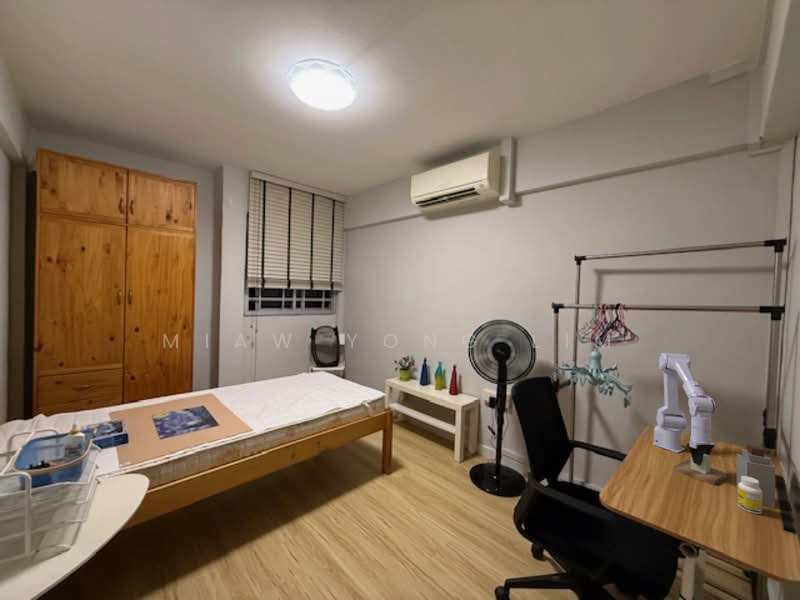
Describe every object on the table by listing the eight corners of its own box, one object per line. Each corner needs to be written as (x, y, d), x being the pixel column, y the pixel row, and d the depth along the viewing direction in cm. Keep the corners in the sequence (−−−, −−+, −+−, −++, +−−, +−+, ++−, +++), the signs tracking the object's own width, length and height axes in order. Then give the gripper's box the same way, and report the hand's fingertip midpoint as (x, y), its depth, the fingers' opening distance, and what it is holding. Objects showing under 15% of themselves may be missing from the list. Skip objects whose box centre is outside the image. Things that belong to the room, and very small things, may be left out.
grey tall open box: (736, 491, 115) (737, 441, 115) (762, 497, 112) (763, 445, 112) (746, 502, 108) (747, 449, 108) (774, 508, 105) (775, 453, 106)
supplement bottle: (736, 501, 109) (736, 472, 109) (760, 508, 105) (760, 478, 105) (739, 509, 104) (739, 479, 104) (764, 517, 101) (764, 486, 101)
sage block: (690, 468, 127) (690, 453, 127) (695, 465, 129) (695, 450, 129) (705, 473, 123) (705, 458, 123) (710, 471, 125) (710, 455, 125)
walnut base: (674, 470, 129) (674, 466, 129) (687, 463, 135) (687, 459, 135) (714, 485, 118) (714, 481, 118) (727, 477, 124) (727, 473, 124)
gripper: (706, 435, 119) (706, 471, 119) (722, 428, 126) (721, 462, 126) (682, 428, 126) (682, 463, 126) (698, 422, 133) (698, 454, 133)
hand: (700, 462), depth 126 cm, fingers open, 5 cm apart
